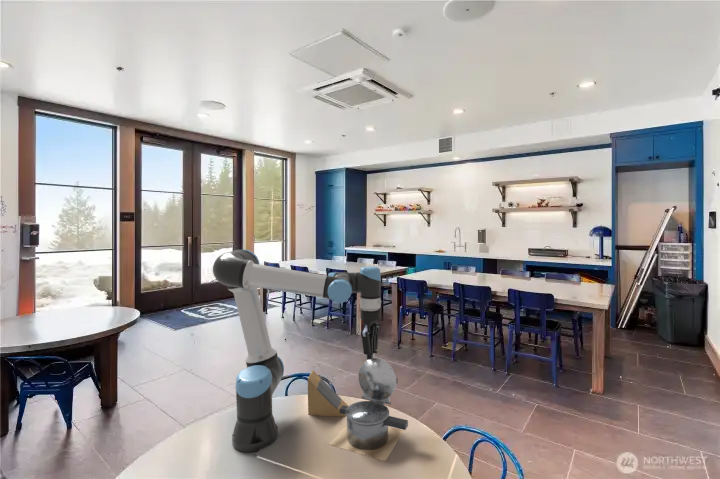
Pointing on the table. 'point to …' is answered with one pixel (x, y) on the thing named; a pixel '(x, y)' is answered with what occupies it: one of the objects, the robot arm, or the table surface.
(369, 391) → the lid
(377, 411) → the pot
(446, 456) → the table surface
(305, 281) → the robot arm
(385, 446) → the trivet
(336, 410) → the sandwich container
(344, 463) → the table surface
